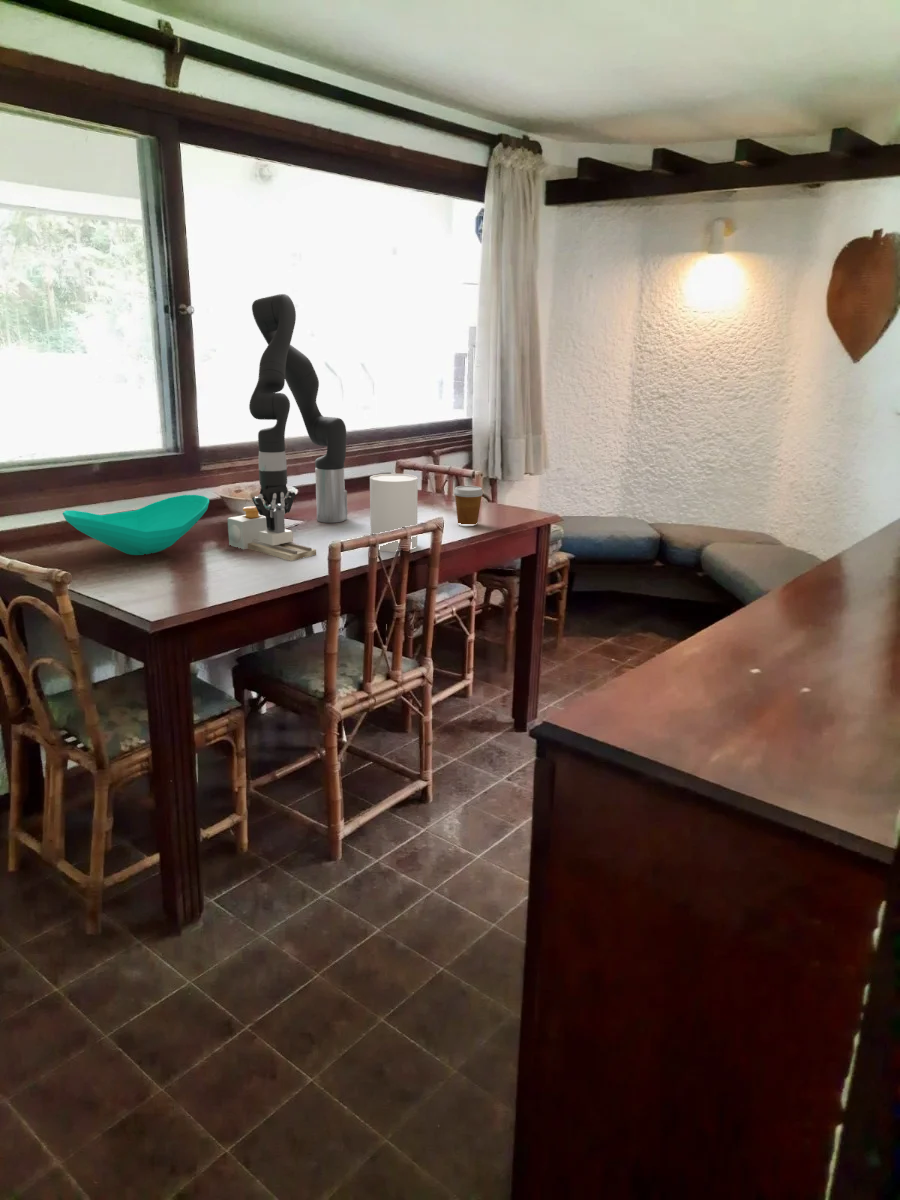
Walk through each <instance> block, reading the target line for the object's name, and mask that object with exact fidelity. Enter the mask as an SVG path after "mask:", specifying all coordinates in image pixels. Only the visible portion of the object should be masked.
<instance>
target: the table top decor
mask: <svg viewBox="0 0 900 1200" xmlns="http://www.w3.org/2000/svg"><path fill="white" fill-rule="evenodd" d="M209 504H210V499H209V497H207V496H204V495H200V494H199V495H198V494H183V495H177V496H171V497H168V498H165V499H161V500H159V501H154V502H153V503H149V504H147V505H145V506H143V507H141V508H138V509H135V510H127V511H121V512H114V513H106V514H96V513H92V512H89V511H88V512H86V511H80V510H65V511H63V512H62V515H63V517H64V519H65V522H67V523H68V524H70V525H71V526H72V527H73V528H75V529H76V530H77V531H79V532H81V533H82V534H84V535H86V536H89V537H90V538H92V539H94V540H96V541H98V542H101V543H103V544H104V545H106V546H109V547H111V548H113V549H116V550H117V551H119V552H122V553H124V554H127V555H129V556H130V555H131V556H144V554H146V555H151V553H152V554H155V553H159V552H162V551H164V550H166V549H168V548H170V547H171V546H172V545H174V544H175V543H176V542H177V541H178V540H179V539H181V538H182V537H184V535H185V534H187V532H189V531H190V530H191V529H192V528H193V527H194V526H195V525H196V524H197V523H198V522H199V520H200V519H201V518H202V517H203V516H204V514H205V513H206V512H207V510H208V508H209Z"/></svg>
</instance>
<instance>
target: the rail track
mask: <svg viewBox="0 0 900 1200" xmlns="http://www.w3.org/2000/svg"><path fill="white" fill-rule="evenodd" d="M252 541H253V543H248V549H247V550H251V549H252V551H255V552H258V551H259V553H262V552H263V553H262V554H265V553H266V555H270V556H273V557H275V558H279V559H282V558H283V560H286V559H287V560H286V561H289V560H290V561H291V560H292V561H296V559H297V560H301V559H304V558H303V557H305V558H309V557H312V555H314V556H316V555H317V549H316V548H312V547H310V546H306V545H303V544H300V543H295V542H293V541H292V542H288V543H283V544H278V545H269V544H265V543H262V542H260V541H259V540H256V539H254V540H252ZM308 556H309V557H308ZM300 558H301V559H300ZM292 561H291V562H292Z"/></svg>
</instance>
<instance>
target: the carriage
mask: <svg viewBox="0 0 900 1200" xmlns="http://www.w3.org/2000/svg"><path fill="white" fill-rule="evenodd" d="M273 518H274V525H275V530H274V531H270V530H268V528H267V530H264V531H259V539H260V542H262V543H265V544H269V545H278V544H283V543H288V542H292V543H293V542H294V535H293V533H294V532H293V530H290V529H287V528H286V526H285V525H286V524H285V515H284V511H282V510H278V509H276V508H275V509H274V516H273Z"/></svg>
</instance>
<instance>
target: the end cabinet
mask: <svg viewBox="0 0 900 1200" xmlns="http://www.w3.org/2000/svg"><path fill="white" fill-rule="evenodd" d="M226 518H227V519H226V520H227V534H228V545H229V546H230V545H231V546H230V547H235V548H237V547H238V548H237V549H240V548H241V550H249V549H248V543H253V541H252V540H254V539H256V540H259V541H260V539H259V531H264V530H267V524H266V517H265V516H262V515H260V514H259V518H254V519H248V518H246V514H243V515H236V516H231V517H226Z"/></svg>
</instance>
